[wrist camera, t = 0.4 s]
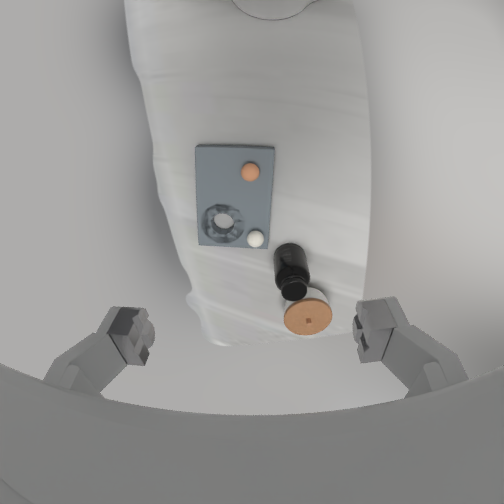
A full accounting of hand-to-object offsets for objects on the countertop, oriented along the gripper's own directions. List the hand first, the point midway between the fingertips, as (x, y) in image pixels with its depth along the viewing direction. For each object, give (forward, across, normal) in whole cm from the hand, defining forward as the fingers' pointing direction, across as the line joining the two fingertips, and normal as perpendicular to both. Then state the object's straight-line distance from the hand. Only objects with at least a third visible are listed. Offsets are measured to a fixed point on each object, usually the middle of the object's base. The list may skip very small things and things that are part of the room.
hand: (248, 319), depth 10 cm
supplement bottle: (+44, -4, +25) cm, 51 cm away
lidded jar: (+44, -8, +36) cm, 58 cm away
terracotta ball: (+40, +2, +5) cm, 40 cm away
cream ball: (+40, +3, +18) cm, 44 cm away
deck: (+44, +6, +10) cm, 45 cm away
